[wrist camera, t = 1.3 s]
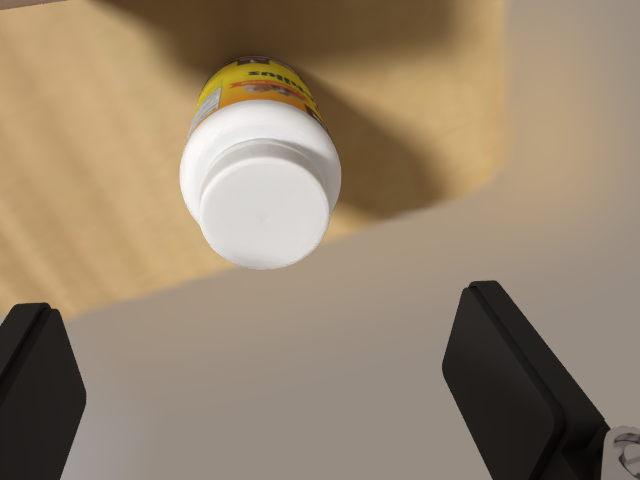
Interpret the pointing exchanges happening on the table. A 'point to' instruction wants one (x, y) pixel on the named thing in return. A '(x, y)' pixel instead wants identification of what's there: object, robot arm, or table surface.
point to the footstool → (23, 3)
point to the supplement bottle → (259, 165)
